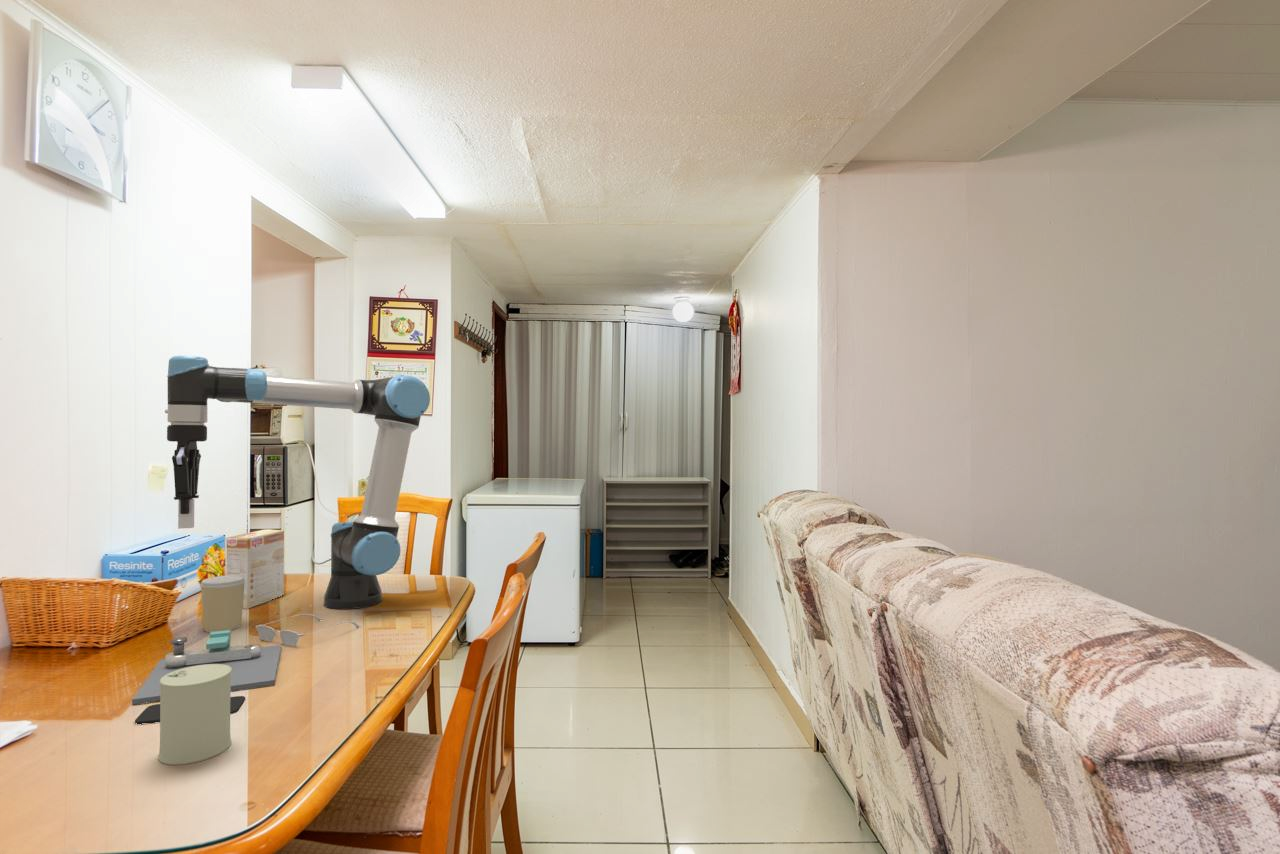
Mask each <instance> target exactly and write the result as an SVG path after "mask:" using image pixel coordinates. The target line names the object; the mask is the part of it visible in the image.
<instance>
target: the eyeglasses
mask: <svg viewBox="0 0 1280 854" xmlns="http://www.w3.org/2000/svg"><path fill="white" fill-rule="evenodd" d="M297 616H311V617H313V618H314V619H315V620H316V621H317V622H321V621H320V620H323V621H325V619H324V618H322V617H320V616H318V615H315V614H312V613H300V614H299V613H298V614H294V615H292V616H289V617H284V618H281V619H279V620H278V619H277V620H275V621H271V622H268V623H265V624H258V625H255V629H257V633H258V636H259V639H260V640H261V641H264V642H271V643H272V642H273V641H274V639H275V638H276V637H277V633H279V636H280V641H281V643H282V645H285V646H288V647H292V648H295V647H296V646H297V644H298V641H299V638H301V637H305V636H306V635H308V634H312V633H314V632H317V631H321V630H323V629H327V628H331V627H333V626H336V625H340V624H343V623H350V624H352V625H354V627H355V628H356V629H359V627H360V628H361V627H362V626H361V625H360V624H358V623H357V622H354V621H351V620H350V621H349V620H344V621H340V622H337V623H336V624H332V625H329V626H326V627H323V628H320V629H317V630H313V631H310V632H307V633H306V632H303V633H301V634H300V633H298V632H297V631H294V630H289V629H282V630H275V629H274V628H273V627H271V626H268V625H269V624H271V623H275V622H279V621H282V620H285V619H290V618H293V617H297Z"/></svg>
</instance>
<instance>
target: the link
mask: <svg viewBox="0 0 1280 854" xmlns="http://www.w3.org/2000/svg"><path fill="white" fill-rule="evenodd" d="M187 642H188V637H186V636H179V637H173V638H171V639H170V645H173V647H172V649H173V650H172V652H171V651H170V652H169V653H167V654H165V655H164V658H165V666H166V667H169V668H174V667H181V666H185V665H193V664H202V663H211V662H221V661H230V660H239V659H248V658H255V657H258V656H260V655H261V647H262V645H261V644H259V643H252V644H244V645H243V644H241V645H233V646H232V645H230V647H221V648H213V649H206V648H205V649H204V648H203V649H194V650H189V649H188V650H185V643H187Z"/></svg>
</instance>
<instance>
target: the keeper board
mask: <svg viewBox="0 0 1280 854" xmlns="http://www.w3.org/2000/svg"><path fill="white" fill-rule="evenodd" d="M231 631H232V630H225V631H216V632H209V638H208V640H207V642H206V644H205V649H213V648H221V647H231V638H232V636H231V633H232V632H231ZM281 653H282V644H277V645H268V646H261V655H260V656H258V657H255V658H248V659H239V660H230V661H221V662H211V663H202V664H193V665H185V666H181V667H174V668H169V667H166V666H165V657H164V658H160V660H159V661H158V663H157V664H156V665H155V667H154V668H153V669H152V671H151V672H150V673H149V675H148V677H147V678H146V679H145V681H144V682H143V684H142V685H141V686H140V688H138V690H137V692H136V693H135V695H134V696H133V697H132V699H131V706H134V705H133V704H137V705H142V704H141V703H144V704H150V703H149V702H151V703H157V702H160V679H161V678H162V677H163V676H165V675H166V674H168V673H171V672H173V671H176V670H179V669H183V668H187V667H191V666H197V665H204V664H224V665H228V666H230V667H231V669H232V671H231V692H235V691H243V690H249V689H250V690H251V689H257V688H264V687H265V688H266V687H271V686H275V683H276V679H277V678H276V677H277V672H278V668H279V667H278V666H279V663H280V659H281V658H280V657H281ZM156 701H157V702H156ZM146 702H147V703H146Z"/></svg>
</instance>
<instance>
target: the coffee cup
mask: <svg viewBox="0 0 1280 854" xmlns="http://www.w3.org/2000/svg"><path fill="white" fill-rule="evenodd" d="M244 583H245V579H244V577H243V576H239V575H227V576H226V575H219V576H212V577H208V578H205V579H203V580H201V582H200V585H199V586H200V589H201V592H200V593H201V608H202V609H201V610H202V620H203V621H202V625H203V632H205V631H206V633H211V632H216V631H225V630H231V631H234V630H236V629H239V628H240V627H241V626H242V617H243V609H242V608H243V597H244Z"/></svg>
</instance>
